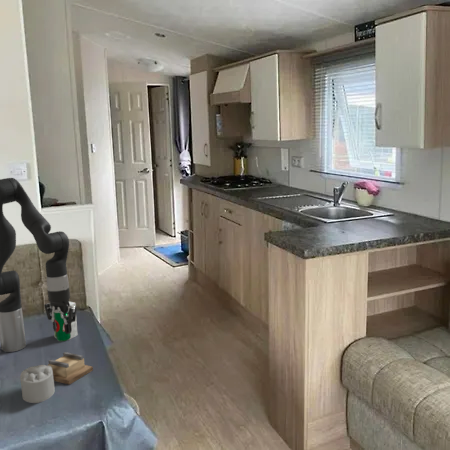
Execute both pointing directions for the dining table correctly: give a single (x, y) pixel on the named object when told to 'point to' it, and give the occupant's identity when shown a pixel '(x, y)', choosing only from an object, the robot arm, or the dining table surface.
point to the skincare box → (72, 324)
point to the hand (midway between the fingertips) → (62, 331)
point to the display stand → (69, 368)
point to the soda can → (60, 327)
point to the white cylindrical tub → (37, 383)
